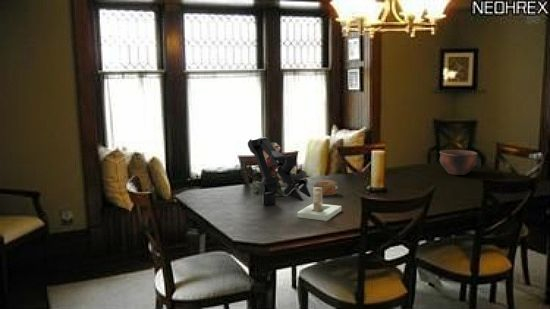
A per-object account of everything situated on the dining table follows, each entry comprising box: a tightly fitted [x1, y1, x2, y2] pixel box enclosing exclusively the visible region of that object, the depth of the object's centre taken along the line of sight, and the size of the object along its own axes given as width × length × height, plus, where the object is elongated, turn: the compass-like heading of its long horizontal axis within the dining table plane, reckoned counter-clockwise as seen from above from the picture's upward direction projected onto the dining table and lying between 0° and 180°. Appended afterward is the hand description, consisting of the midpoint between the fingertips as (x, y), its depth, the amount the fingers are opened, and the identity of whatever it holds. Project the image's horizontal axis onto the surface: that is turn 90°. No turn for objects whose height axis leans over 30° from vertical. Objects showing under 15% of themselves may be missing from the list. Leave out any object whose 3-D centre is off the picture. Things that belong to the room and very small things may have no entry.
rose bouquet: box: [249, 142, 298, 197], centre depth 322 cm, size 26×29×30 cm
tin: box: [313, 180, 340, 197], centre depth 312 cm, size 15×3×8 cm, turn 101°
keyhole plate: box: [296, 203, 342, 222], centre depth 272 cm, size 20×16×2 cm
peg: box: [312, 187, 323, 212], centre depth 269 cm, size 4×4×14 cm
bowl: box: [439, 149, 478, 176], centre depth 361 cm, size 25×25×15 cm
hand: (306, 198), depth 272 cm, fingers open, 9 cm apart
